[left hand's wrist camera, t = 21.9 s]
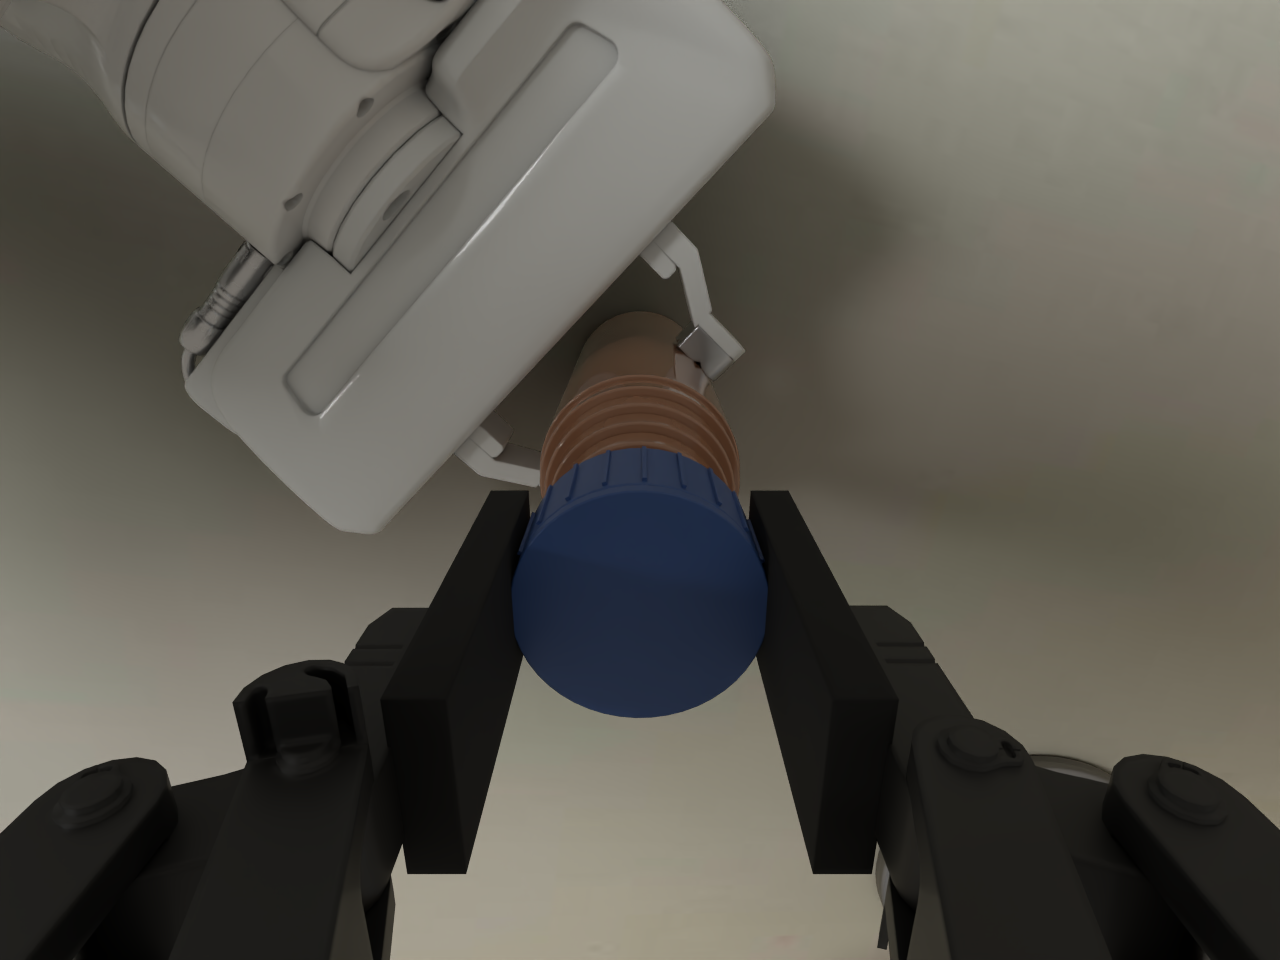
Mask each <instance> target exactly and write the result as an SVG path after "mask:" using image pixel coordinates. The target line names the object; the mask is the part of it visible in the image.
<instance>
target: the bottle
mask: <svg viewBox="0 0 1280 960" xmlns="http://www.w3.org/2000/svg"><path fill="white" fill-rule="evenodd" d="M682 330H683V328H682V327H681V326H680V325H678V324H677V323H676V322H674V321H673V320H671V319H669V318H667V317H665V316H662V315H660V314H656V313H652V312H644V311H635V312H628V313H623V314H620V315H617V316H615V317H613V318H611V319H609V320H607V321H606V322H604V323H603V324H601V325H600V326H599V327H598V328H597V329H596V330H595V331H594V332H593V333H592V334H591V335H590V337H589V338H588V340H587V341H586V343H585V345H584V347H583V349H582V351H581V354H580V356H579V358H578V361H577V363H576V365H575V368H574V370H573V373H572V375H571V377H570V380H569V382H568V384H567V387H566V389H565V392H564V394H563V396H562V399H561V401H560V403H559V406H558V408H557V411H556V413H555V415H554V418H553V420H552V422H551V425H550V427H549V430H548V432H547V434H546V437H545V440H544V443H543V446H542V452H541V457H540V491H541V497H542V499H543V498H544V496H545V495H546V492H547V489H548V487H549V485H552V486H553V485H554V484H555V483H556V482H557V481H558V480H559V479H560V478H561V477H562V476H563V475H564V474H566V473H567V472H568V471H569V470H571V469H572V468H573V465H574V464H576V463H578V465H579V464H580V463H582V462H584V461H586V460H588V459H590V458H593V457H595V456H597V455H600V454H604V453H606V451H607V450H610V451H615V450H621V449H628V448H642V446H646V448H650V449H660V450H664V451H669V452H673V453H676V454H677V452H680V453H682V456H685V457H687V458H690V459H692V460H694V461H695V462H697V463H699V464H701V465H703V466H704V467H706V468H707V469H708V468H709V467H710V468H711V469H713V472H714V474H715V475H716V476H718V477H719V478H720V479H721V480H722V481H723V482H724V483H725V484H726V485H727V486H728V488H729V489H730V490H731V491H732V492H733V491H735V492H736V494H737V496H738V495H739V488H740V461H739V453H738V448H737V445H736V441H735V438H734V436H733V433H732V431H731V428H730V426H729V424H728V421H727V419H726V417H725V414H724V412H723V409H722V407H721V405H720V402H719V400H718V397H717V395H716V393H715V390H714V388H713V386H712V383H711V381H710V378H709V377H708V376H707V375H706V374H705V373H704V372H703V370H702V369H701V367H700V365H699V362H697V361H693V360H692V359H691V358H689V357H688V356H687V355H686V354H685V353H684V352H683V351H682V350H681V349H680V348H679V347H678V345H677V341H676V337H677V336H678V334H679V333H680V332H681V331H682Z"/></svg>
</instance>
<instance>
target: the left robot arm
mask: <svg viewBox="0 0 1280 960" xmlns="http://www.w3.org/2000/svg"><path fill="white" fill-rule="evenodd" d="M749 519H750V521H751V524H752V526H753V529H754V532H755V535H756V538H757V540H758V543H759V546H760V549H761V552H762V554H763V557H764V560H765V562H764V563H762V565H763V567H764V570H765V574H766V578H767V582H768V595H767V609H766V623H765V635H764V639H763V642H762V645H761V646H760V648H759V650H758V652H757V654H756V657H757V661H758V665H759V669H760V672H761V676H762V680H763V684H764V688H765V692H766V695H767V699H768V703H769V707H770V711H771V715H772V718H773V722H774V726H775V730H776V734H777V738H778V741H779V745H780V749H781V753H782V757H783V761H784V764H785V768H786V772H787V776H788V780H789V784H790V787H791V791H792V795H793V799H794V803H795V807H796V810H797V814H798V818H799V822H800V826H801V830H802V833H803V837H804V841H805V845H806V849H807V853H808V856H809V860H810V864H811V868H812V872H813V874H872V870H873V863H874V857H875V850H876V844H877V842H878V845H879V847H880V851H879V854H878V858H877V863H876V884H877V890H878V893H879V896H880V899H881V902H882V905H883V914H882V920H881V926H880V932H879V939H878V946H877V948H881V949H886V950H887V945H888V941H889V951H890V960H1280V830H1279V829H1278V828H1277V827H1276V826H1275V825H1274V824H1273V823H1272V822H1271V821H1270V820H1269V819H1268V818H1267V817H1266V816H1265V815H1264V814H1262V813H1261V812H1260V811H1259V810H1258V809H1257V808H1256V807H1255V806H1254V805H1253V804H1252V803H1251V802H1250V801H1249V800H1248V799H1247V798H1246V797H1244V796H1243V795H1242V794H1240V793H1239V792H1238V791H1236V790H1235V789H1234V788H1233V787H1231V786H1230V785H1229V784H1227V783H1226V782H1225V781H1223V780H1222V779H1220V778H1218V777H1216V776H1214V775H1212V774H1210V773H1208V772H1206V771H1204V770H1202V769H1200V768H1198V767H1197V766H1194V765H1191V764H1188V763H1186V762H1182V761H1179V760H1176V759H1172V758H1169V757H1164V756H1155V755H1147V754H1140V755H1135V756H1129V757H1124V758H1123V759H1122V760H1121V761H1120V762H1118V763H1117V764H1116V765H1115V766H1114V767H1113V771H1112V774H1111V775H1110V774H1108V773H1107V772H1105V771H1103V770H1101V769H1099V768H1097V767H1094V766H1092V765H1089V764H1086V763H1083V762H1080V761H1076V760H1072V759H1067V758H1061V757H1052V756H1030V755H1029V754H1028V753H1027V751H1026V750H1025V748H1024V747H1023V745H1022V744H1020V743H1019V742H1018V741H1017V740H1015V739H1014V738H1013V737H1012V736H1010V735H1009V734H1008V733H1007V732H1005V731H1004V730H1001V729H999V728H997V727H995V726H993V725H991V724H989V723H987V722H985V721H982V720H978V719H974V718H973V716H972V715H971V713H970V712H969V710H968V709H967V707H966V706H965V704H964V703H963V701H962V700H961V698H960V697H959V695H958V694H957V692H956V691H955V689H954V687H953V686H952V684H951V683H950V681H949V680H948V678H947V677H946V675H945V674H944V672H943V671H942V669H941V668H940V666H939V665H938V663H935V659H934V657H933V656H932V654H931V653H930V651H929V650H928V648H927V647H924V642H923V640H922V639H921V637H920V636H919V634H918V633H917V631H916V630H915V628H914V627H913V625H912V624H911V622H909V621H908V620H906V619H905V618H904V617H902V616H901V615H899V614H898V613H897V612H895V611H894V610H892V609H891V608H890V607H888V606H849V604H848V602H847V600H846V599H845V597H844V595H843V593H842V591H841V589H840V587H839V585H838V584H837V582H836V580H835V578H834V576H833V574H832V572H831V570H830V568H829V567H828V565H827V563H826V561H825V559H824V557H823V555H822V553H821V552H820V550H819V548H818V546H817V544H816V542H815V540H814V538H813V536H812V535H811V533H810V531H809V529H808V527H807V525H806V523H805V521H804V520H803V518H802V516H801V514H800V512H799V510H798V508H797V506H796V504H795V503H794V501H793V499H792V497H791V495H790V493H789V491H751V494H750V511H749ZM529 520H530V508H529V491H491V492H490V494H489V495H488V497H487V499H486V501H485V503H484V505H483V507H482V509H481V510H480V512H479V514H478V516H477V518H476V520H475V522H474V524H473V525H472V527H471V529H470V531H469V533H468V535H467V537H466V539H465V541H464V542H463V544H462V546H461V548H460V550H459V552H458V554H457V556H456V557H455V559H454V561H453V563H452V565H451V567H450V569H449V571H448V573H447V574H446V576H445V578H444V580H443V582H442V584H441V586H440V588H439V589H438V591H437V593H436V595H435V597H434V599H433V601H432V603H431V605H430V606H429V608H392V609H390V610H389V611H387V612H386V613H385V614H383V615H382V616H381V617H379V618H378V619H376V620H375V621H374V622H372V623H371V624H369V625H368V627H367V628H366V630H365V631H364V633H363V634H362V636H361V637H360V639H359V641H358V642H357V644H356V648H355V649H353V650H352V651H351V653H350V654H349V656H348V657H347V659H346V660H345V664H344V663H340V662H336V661H332V660H307V661H303V662H298V663H294V664H289V665H285V666H282V667H280V668H278V669H275V670H273V671H271V672H268V673H266V674H264V675H262V676H260V677H259V678H257V679H256V680H254V681H253V682H252V683H250V684H249V685H247V686H246V687H244V688H243V690H242V691H241V692H240V693H239V695H238V696H237V697H236V699H235V700H234V701H233V702H232V703H233V707H234V711H235V715H236V719H237V723H238V727H239V731H240V735H241V739H242V743H243V747H244V751H245V756H246V760H247V763H246V765H245V768H244V769H241V770H238V771H235V772H231V773H228V774H224V775H220V776H216V777H212V778H207V779H203V780H198V781H194V782H189V783H185V784H181V785H176V786H172V787H171V784H170V781H169V778H168V774H167V771H166V769H165V768H164V767H162V766H161V765H160V764H159V763H158V762H157V761H155V760H150V759H144V758H138V757H135V758H126V759H118V760H111V761H108V762H105V763H102V764H99V765H95V766H92V767H90V768H87V769H84V770H82V771H80V772H78V773H76V774H74V775H72V776H70V777H68V778H67V779H65V780H63V781H61V782H59V783H57V784H56V785H54V786H53V787H52V788H51V789H49V790H48V791H47V792H45V793H44V794H43V795H41V796H40V797H39V798H38V799H36V800H35V801H34V802H33V803H32V804H31V805H30V806H29V807H28V808H27V809H25V810H24V811H23V812H22V813H21V814H20V815H19V816H18V817H17V818H16V819H15V820H14V821H13V822H12V823H11V824H10V825H9V826H8V827H7V828H6V829H5V830H4V831H2V832H1V833H0V960H390V953H391V943H392V933H393V923H394V913H395V898H394V891H393V885H392V879H391V873H392V870H393V867H394V865H395V862H396V859H397V857H398V854H399V851H400V849H401V846H402V843H403V849H404V856H405V862H406V868H407V874H466V872H467V869H468V865H469V861H470V857H471V853H472V849H473V846H474V842H475V838H476V834H477V830H478V826H479V823H480V819H481V815H482V811H483V807H484V803H485V800H486V796H487V792H488V788H489V784H490V781H491V777H492V773H493V769H494V765H495V761H496V758H497V754H498V750H499V746H500V742H501V738H502V735H503V731H504V727H505V723H506V719H507V715H508V712H509V708H510V704H511V700H512V696H513V692H514V689H515V685H516V681H517V677H518V673H519V669H520V666H521V662H522V658H523V653H522V652H521V650H520V647H519V645H518V643H517V640H516V638H515V633H514V620H513V607H512V592H511V584H512V579H513V575H514V573H515V570H516V567H517V564H518V561H519V558H520V555H517V553H518V550H519V548H520V545H521V542H522V539H523V536H524V534H525V531H526V528H527V525H528V523H529Z"/></svg>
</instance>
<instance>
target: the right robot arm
mask: <svg viewBox="0 0 1280 960" xmlns="http://www.w3.org/2000/svg"><path fill="white" fill-rule="evenodd" d="M0 26H1V27H3V28H4V29H5V30H7V31H8V32H9V33H11V34H12V35H13V36H15V37H16V38H18V39H19V40H21V41H23V42H25V43H27V44H28V45H30V46H32V47H34V48H35V49H37V50H39V51H41V52H43V53H45V54H47V55H49V56H51V57H53V58H54V59H56V60H58V61H59V62H61V63H63V64H64V65H66V66H67V67H68V68H70V69H71V70H73V71H74V72H75V73H76V74H77V75H78V76H80V77H81V78H82V79H83V80H84V81H85V82H86V83H87V84H88V85H89V87H90V88H91V89H92V90H93V91H94V92H95V93H96V94H97V96H98V97H99V98H100V100H101V101H102V103H103V104H104V106H105V107H106V109H107V111H108V112H109V113H110V115H111V116H112V117H113V119H114V120H115V121H116V123H117V124H118V126H119V127H120V128H121V129H122V131H123V132H124V133H125V134H126V135H127V136H128V137H129V138H130V139H131V140H132V141H133V142H134V143H135V144H136V145H138V146H139V147H140V148H141V149H142V150H143V151H144V152H146V153H147V154H148V155H149V156H150V157H152V158H153V159H154V160H155V161H156V162H157V163H158V164H159V165H161V166H162V167H163V168H164V169H165V170H166V171H167V172H169V173H170V174H171V175H172V176H173V177H174V178H175V179H177V180H178V181H179V182H180V183H181V184H182V185H184V186H185V187H186V188H187V189H188V190H189V191H190V192H192V193H193V194H194V195H195V196H196V197H197V198H199V199H200V200H201V201H202V202H203V203H204V204H205V205H207V206H208V207H209V208H210V209H211V210H213V212H214V213H216V214H217V215H218V216H219V217H220V218H221V219H222V220H224V221H225V222H226V223H227V224H228V225H229V226H231V227H232V228H233V229H234V230H235V231H236V232H237V233H239V234H240V235H241V236H242V237H243V238H244V239H246V241H245V242H244V243H243V244H242V246H241V247H240V248H239V249H238V252H237V253H236V254H235V256H234V257H233V258H232V260H231V261H230V262H229V264H228V265H227V266H226V268H225V269H224V271H223V272H222V274H221V276H220V277H219V279H218V281H217V283H216V285H215V287H214V289H213V290H212V292H211V294H210V295H209V296H208V298H207V300H206V301H205V302H204V304H203V305H202V306H201V307H198V308H197V309H196V310H195V311H194V312H193V313H192V314H191V315H190V316H189V318H188V319H187V320H186V322H185V324H184V325H183V327H182V329H181V332H180V335H179V338H178V340H179V343H180V344H181V345H182V347H183V348H184V349H183V354H182V358H181V369H182V375H183V379H184V381H185V390H186V392H187V393H188V395H189V396H190V398H191V399H192V400H193V401H194V402H195V403H196V404H197V405H198V406H199V407H200V408H202V409H203V410H204V411H205V412H207V413H208V414H209V415H210V416H212V417H213V418H214V419H216V420H217V421H218V422H219V423H221V424H222V425H223V426H224V427H226V428H227V429H228V430H230V431H231V432H233V433H235V434H237V435H238V436H239V437H240V438H241V439H242V441H243V442H244V443H245V444H246V445H247V446H248V447H249V448H250V449H251V450H252V451H253V452H254V453H255V455H256V456H257V457H258V458H259V459H260V460H261V461H262V462H263V463H264V464H265V465H266V466H267V467H268V468H269V469H270V470H271V471H272V472H273V473H274V474H275V475H276V476H277V477H278V478H279V479H280V480H281V481H282V482H283V483H284V484H285V485H286V486H287V487H288V488H289V489H290V490H291V491H293V492H294V493H295V494H296V495H297V496H298V497H299V498H300V499H301V500H302V501H303V502H304V503H306V504H307V505H308V506H309V507H310V508H311V509H312V510H313V511H315V512H316V513H317V514H318V515H319V516H320V517H321V518H323V519H324V520H325V521H326V522H328V523H329V524H330V525H332V526H333V527H335V528H336V529H338V530H340V531H344V532H352V533H360V534H377V533H379V532H380V531H381V530H382V529H383V528H384V527H385V526H386V525H387V524H388V523H389V522H390V521H391V519H392V518H393V517H394V516H395V515H396V514H397V513H398V512H399V511H400V510H401V509H402V508H403V507H404V506H405V505H406V503H407V502H408V501H409V500H410V499H411V498H412V497H413V496H414V495H415V494H416V493H417V492H418V491H419V490H420V488H421V487H422V486H423V485H424V484H425V483H426V482H427V481H428V480H429V479H430V478H431V477H432V476H433V475H434V474H435V472H436V471H437V470H438V469H439V468H440V467H441V466H442V465H443V464H444V463H445V462H446V461H447V460H448V459H449V457H450V456H451V455H452V454H453V453H454V454H455V455H456V456H457V457H458V458H460V459H461V460H462V461H463V462H464V463H465V464H467V465H468V466H469V467H470V468H471V469H472V470H474V471H475V472H476V473H477V474H478V475H479V476H483V477H488V478H493V479H498V480H502V481H507V482H512V483H517V484H521V485H526V486H531V487H535V488H536V487H537V486H538V485H539V486H540V457H541V452H540V451H536V450H532V449H529V448H525V447H521V446H518V445H514V444H510V443H508V441H509V439H510V438H511V436H512V434H513V428H512V427H511V426H510V425H509V424H508V423H507V422H505V421H504V420H503V419H502V418H501V417H500V416H499V415H498V414H497V413H496V412H494V411H493V410H494V409H495V408H496V407H497V406H498V405H499V404H500V403H501V402H502V401H503V400H504V399H505V398H506V397H507V395H508V394H509V393H510V392H511V391H512V390H513V389H514V388H515V387H516V386H517V385H518V384H519V383H520V382H521V381H522V379H523V378H524V377H525V376H526V375H527V374H528V373H529V372H530V371H531V370H532V369H533V368H534V367H535V366H536V364H537V363H538V362H539V361H540V360H541V359H542V358H543V357H544V356H545V355H546V354H547V353H548V352H549V351H550V350H551V348H552V347H553V346H554V345H555V344H556V343H557V342H558V341H559V340H560V339H561V338H562V337H563V336H564V335H565V333H566V332H567V331H568V330H569V329H570V328H571V327H572V326H573V325H574V324H575V323H576V322H577V321H578V320H579V319H580V317H581V316H582V315H583V314H584V313H585V312H586V311H587V310H588V309H589V308H590V307H591V306H592V305H593V304H594V302H595V301H596V300H597V299H598V298H599V297H600V296H601V295H602V294H603V293H604V292H605V291H606V290H607V289H608V288H609V286H610V285H611V284H612V283H613V282H614V281H615V280H616V279H617V278H618V277H619V276H620V275H621V274H622V273H623V271H624V270H625V269H626V268H627V267H628V266H629V265H630V264H631V263H632V262H633V261H634V260H635V259H636V258H637V257H638V255H640V256H641V257H642V258H643V259H644V260H645V261H646V262H647V263H648V264H649V265H650V266H651V267H652V268H653V269H654V270H655V271H656V272H657V273H658V274H659V275H660V276H661V277H662V278H663V279H668V278H669V277H670V276H671V275H672V274H673V273H674V272H675V271H676V265H677V268H678V271H679V275H680V279H681V283H682V287H683V291H684V295H685V299H686V303H687V307H688V311H689V315H690V319H691V322H690V323H689V324H688V325H687V326H686V327H685V328H684V329H683V330H682V331H681V332H680V333H679V334H678V336H677V337H676V341H677V345H678V347H679V348H680V349H681V350H682V351H683V352H684V353H685V354H686V355H687V356H688V357H689V358H691V359H692V360H693V361H697V362H699V365H700V367H701V369H702V370H703V372H704V373H705V374H706V375H707V376H708V377H709V378H710V379H711V380H712V381H715V380H716V379H717V378H718V377H719V376H720V375H721V374H723V373H724V372H725V371H726V370H727V369H728V368H729V367H730V366H731V365H732V364H733V363H734V362H735V361H736V360H737V359H738V358H739V357H740V356H741V355H742V354H743V353H744V352H746V350H745V349H744V348H743V346H742V345H741V344H740V343H739V342H738V341H737V340H736V338H735V337H734V336H733V335H732V334H731V333H730V332H729V331H728V330H727V329H726V328H725V327H724V326H723V325H722V324H721V323H720V322H719V321H718V320H717V319H716V318H715V317H714V316H713V314H712V313H711V312H712V307H711V302H710V298H709V294H708V290H707V286H706V281H705V277H704V273H703V269H702V264H701V260H700V256H699V252H698V249H697V248H696V247H695V246H694V245H693V243H692V242H691V241H690V240H689V239H688V238H687V237H686V236H685V235H684V234H683V233H682V232H681V231H680V230H679V228H678V227H677V226H676V225H675V224H674V223H673V222H672V221H671V220H672V219H673V218H674V217H675V216H676V215H677V214H678V213H679V212H680V211H681V209H682V208H683V207H684V206H685V205H686V204H687V203H688V202H689V201H690V200H691V199H692V198H693V197H694V196H695V195H696V193H697V192H698V191H699V190H700V189H701V188H702V187H703V186H704V185H705V184H706V183H707V182H708V181H709V180H710V178H711V177H712V176H713V175H714V174H715V173H716V172H717V171H718V170H719V169H720V168H721V167H722V166H723V165H724V164H725V162H726V161H727V160H728V159H729V158H730V157H731V156H732V155H733V154H734V153H735V152H736V151H737V150H738V149H739V147H740V146H741V145H742V144H743V143H744V142H745V141H746V140H747V139H748V138H749V137H750V136H751V135H752V134H753V132H754V131H755V130H756V129H757V128H758V127H759V126H760V125H761V124H762V123H763V122H764V121H765V120H766V119H767V117H768V116H769V115H770V114H771V113H772V112H773V110H774V108H775V104H776V89H775V72H774V65H773V62H772V59H771V57H770V56H769V54H768V52H767V51H766V49H765V48H764V47H763V46H762V44H761V43H760V42H759V41H758V39H757V38H756V37H755V36H754V34H753V33H752V32H751V31H750V30H749V29H748V28H747V27H746V26H745V25H744V23H743V22H742V21H741V20H740V19H739V18H738V17H737V16H736V15H735V14H734V13H733V11H732V10H731V9H730V8H729V7H728V6H727V5H726V4H725V3H724V2H723V1H722V0H0ZM197 355H200V356H204V355H205V356H204V358H203V359H202V360H201V361H200V363H199V364H198V365H197V367H196V368H195V361H196V356H197Z"/></svg>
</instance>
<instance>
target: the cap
mask: <svg viewBox="0 0 1280 960" xmlns="http://www.w3.org/2000/svg"><path fill="white" fill-rule="evenodd" d="M517 555H520V558H519V561H518V564H517V567H516V570H515V573H514V575H513V579H512V584H511V592H512V607H513V620H514V633H515V638H516V640H517V643H518V645H519V647H520V650H521V652H522V653H523V655H524V657H525V658H526V660H527V662H528V663H529V665H530V666H531V667H532V668H533V670H534V671H535V672H536V673H537V675H538V676H539V677H540V678H541V679H542V680H544V681H545V682H546V683H547V684H548V685H549V686H550V687H551V688H553V689H554V690H555V691H557V692H558V693H559V694H561V695H562V696H564V697H566V698H567V699H569V700H571V701H573V702H574V703H576V704H579V705H581V706H583V707H586V708H588V709H591V710H594V711H597V712H601V713H604V714H609V715H614V716H619V717H631V718H651V717H659V716H666V715H671V714H675V713H679V712H683V711H686V710H688V709H691V708H694V707H697V706H699V705H701V704H703V703H705V702H707V701H709V700H711V699H712V698H714V697H716V696H717V695H719V694H720V693H722V692H723V691H725V690H726V689H727V688H728V687H729V686H731V685H732V684H733V683H734V682H735V681H736V680H737V679H738V678H739V677H740V676H741V675H742V674H743V673H744V672H745V671H746V669H747V668H748V666H749V665H750V664H751V662H752V661H753V659H754V658H755V656H756V654H757V652H758V650H759V648H760V646H761V645H762V642H763V639H764V635H765V623H766V609H767V595H768V582H767V578H766V574H765V570H764V567H763V565H762V563H764V562H765V560H764V557H763V554H762V552H761V549H760V546H759V543H758V540H757V538H756V535H755V532H754V529H753V526H752V524H751V521H750V519H748V520H747V519H746V516H745V514H744V512H743V509H742V507H741V505H740V502H739V499H738V496H737V494H736V492H735V491H733V492H732V491H731V490H730V489H729V488H728V486H727V485H726V484H725V483H724V482H723V481H722V480H721V479H720V478H719V477H718V476H716V475H715V474H714V472H713V469H711V468H710V467H709V468H708V469H707V468H706V467H704V466H703V465H701V464H699V463H697V462H695V461H694V460H692V459H690V458H687V457H685V456H682V453H680V452H677V454H676V453H673V452H669V451H664V450H660V449H650V448H646V446H642V448H628V449H621V450H615V451H610V450H607V451H606V453H604V454H600V455H597V456H595V457H593V458H590V459H588V460H586V461H584V462H582V463H580V464H579V465H578V463H576V464H574V465H573V468H572V469H571V470H569V471H568V472H567V473H566V474H564V475H563V476H562V477H561V478H560V479H559V480H558V481H557V482H556V483H555V484H554V485H553V486H552V485H549V487H548V489H547V492H546V495H545V496H544V498H543V499H542V501H541V503H540V505H539V506H538V508H537V510H536V513H534V512H532V514H531V517H530V520H529V523H528V525H527V528H526V531H525V534H524V536H523V539H522V542H521V545H520V548H519V550H518V553H517Z"/></svg>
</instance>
